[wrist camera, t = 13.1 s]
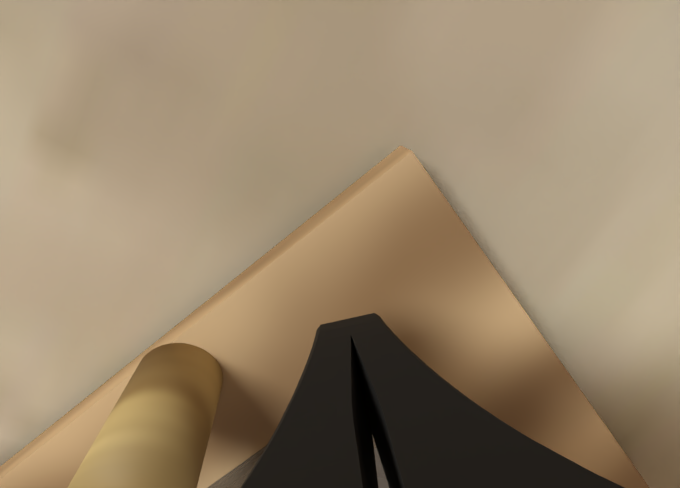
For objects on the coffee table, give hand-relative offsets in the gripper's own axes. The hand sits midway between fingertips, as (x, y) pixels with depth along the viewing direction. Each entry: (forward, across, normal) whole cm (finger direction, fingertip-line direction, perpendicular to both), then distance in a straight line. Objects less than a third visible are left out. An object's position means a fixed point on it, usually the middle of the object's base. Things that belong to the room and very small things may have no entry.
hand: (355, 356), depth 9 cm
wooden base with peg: (+4, +1, +8) cm, 9 cm away
